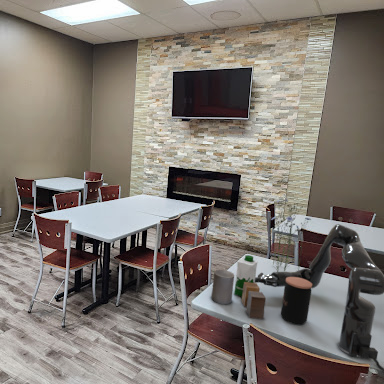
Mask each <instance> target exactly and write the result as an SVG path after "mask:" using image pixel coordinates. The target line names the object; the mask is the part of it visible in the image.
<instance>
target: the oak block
mask: <svg viewBox="0 0 384 384" xmlns="http://www.w3.org/2000/svg"><path fill="white" fill-rule="evenodd" d="M260 290H261V288H260V286H259V285H258V283H249V282H244V286H243V295H242V297H241V302H242V305H243V307H245V308H247V301H248V293H249V291H255V292H261V291H260Z"/></svg>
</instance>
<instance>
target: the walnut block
mask: <svg viewBox="0 0 384 384" xmlns="http://www.w3.org/2000/svg"><path fill="white" fill-rule="evenodd" d="M266 299H267V298H266V296H265V295H264V293H263V292H262V291H259V292H255V291H249V293H248V301H247V307H246V314H247V315H248V318H251V319H258V320H259V319H260V320H264V315H265V308H266Z"/></svg>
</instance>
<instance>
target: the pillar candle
mask: <svg viewBox="0 0 384 384" xmlns="http://www.w3.org/2000/svg"><path fill="white" fill-rule="evenodd" d="M234 282H235V273H234V272H232V271H229V270H226V269H216V270H214V272H213V281H212V289H211V300H212V301H214V302H215V303H217V304H221V305H229V304H231V303H232V298H233V291H234Z"/></svg>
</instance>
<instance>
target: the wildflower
mask: <svg viewBox="0 0 384 384" xmlns="http://www.w3.org/2000/svg"><path fill="white" fill-rule="evenodd" d="M280 201H281V199H279V200H277V201H276V204H278V209H279V212H280V213H278V217H279V219H280V220H276V216H274V217H272V218H271V219H270V220H271V221H273V220H275V225H276V226H277V231H276V235H277V236H276V238H275V239H276V242H278V244H275V248H277V246H278V248H277V249H278V250H280V249H281V248H282V251H277V250H274V251H275V252H274V254H273V260H272V261H273V263H272V266H274V264H275V263H276V265H275V270H276V272H279V268H280V267H282V264H284V266H283V272H286V269H287V266H289V261H290V259H289V258H290V257H289V255H290V250H291V249H290V248H291V245H292V240H291V239H292V238H293V237H294V234H296V233H297V232H299V230H300V229H299V225H297V224H296V223H293V222H294V221H295V220H296V216H297V215H298V214H299V213H300V211H301V210H302V209H303V207H304V206H303V205H301V206H299V208H300V209H297V210H296V206H298V205H299V202H297V203H293V205H292V203H289V204H287V203H288V202H289V200H288V199H287V198H285V200H284V199H283V200H282V202H281V203H280ZM284 201H285V202H284ZM283 202H284V205H283ZM286 204H287V205H286ZM285 206H287V207H288V208H289V209H288V212H289V216H287V217H286V219H285V216H283V220H282V216H281V215H282V214H283V210H284V209H285ZM281 207H282V208H281ZM280 208H281V209H280ZM292 215H293V216H292ZM304 219H305V220H304V221H303V222H300V225H301V227H302V230H301V233H302V235H301V241H300V242H301V243H300V252H299V253H300V254H299V255H302V250H303V246H302V245H303V236H304V233H305V232H304V231H305V230H306V228H307V226H306V225H304V224H308V223H309V221H312V219H311V218H310V217H305V218H304ZM306 220H307V221H306ZM282 223H283V224H282ZM280 224H281V227H280ZM295 225H296V226H295ZM293 226H295V227H296V228H295V229H294V233H292V232H293V231H292V230H293ZM280 228H281V229H280ZM286 228H287V230H286ZM280 230H281V231H280ZM283 231H284V233H286V232H287V233H286V238H285V235H281V234H282V233H283ZM280 235H281V236H280ZM282 237H283V239H284V241H282V243H284V244H281V240H280V239H281V238H282ZM287 244H288V246H287V247H286V245H287ZM285 249H286V250H287V253H286V252H285ZM280 254H281V256H279V255H280ZM285 255H286V256H285ZM276 256H277V259H276ZM284 258H285V261H284ZM283 261H284V262H283ZM300 264H301V259H299V261H298V265H297V271H299V270H300Z"/></svg>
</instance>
